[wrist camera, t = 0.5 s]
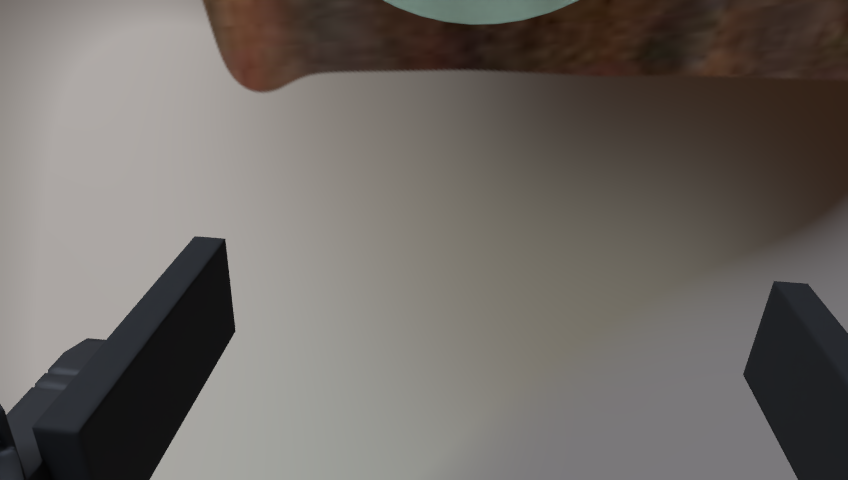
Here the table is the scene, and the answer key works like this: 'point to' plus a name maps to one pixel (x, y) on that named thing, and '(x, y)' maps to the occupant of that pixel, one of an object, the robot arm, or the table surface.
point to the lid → (480, 9)
